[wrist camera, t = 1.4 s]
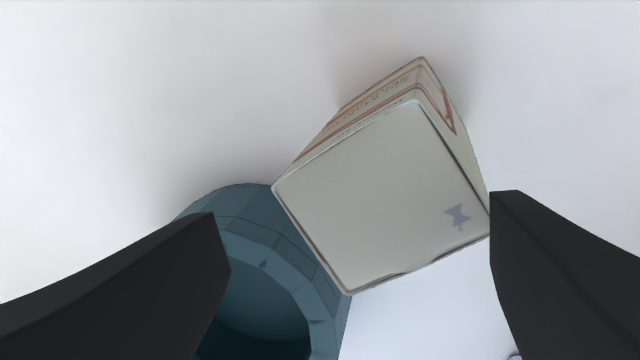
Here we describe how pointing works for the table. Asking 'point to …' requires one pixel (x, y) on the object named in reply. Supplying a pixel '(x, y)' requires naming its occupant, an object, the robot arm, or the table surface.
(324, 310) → the teal round bowl
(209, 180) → the table surface
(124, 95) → the table surface
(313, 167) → the beige box
